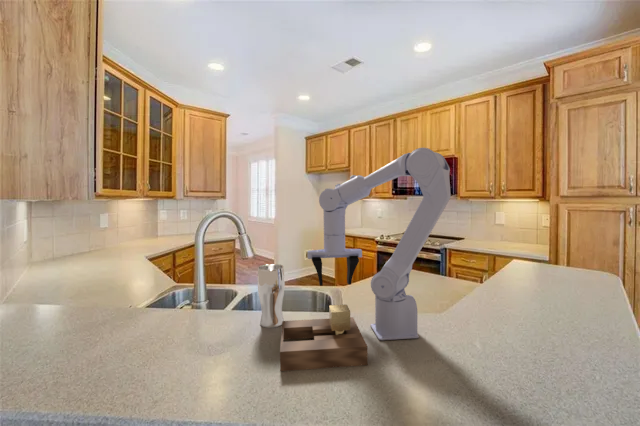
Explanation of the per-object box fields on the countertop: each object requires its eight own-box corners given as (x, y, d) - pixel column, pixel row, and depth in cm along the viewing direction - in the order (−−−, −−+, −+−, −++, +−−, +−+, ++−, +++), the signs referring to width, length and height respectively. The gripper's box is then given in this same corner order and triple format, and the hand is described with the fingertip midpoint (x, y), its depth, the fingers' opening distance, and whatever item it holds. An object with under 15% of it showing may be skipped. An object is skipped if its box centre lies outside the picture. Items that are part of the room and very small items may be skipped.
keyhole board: (353, 332, 72) (352, 317, 72) (367, 365, 58) (367, 346, 58) (282, 336, 71) (282, 321, 71) (280, 371, 57) (279, 351, 57)
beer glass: (253, 326, 77) (251, 268, 76) (268, 315, 83) (267, 262, 82) (275, 331, 74) (274, 271, 73) (290, 320, 80) (289, 265, 79)
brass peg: (347, 342, 68) (346, 304, 67) (350, 351, 64) (350, 311, 63) (329, 343, 67) (329, 305, 67) (332, 352, 63) (331, 312, 63)
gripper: (357, 231, 84) (358, 278, 85) (306, 232, 83) (307, 280, 84) (363, 234, 77) (364, 286, 78) (308, 236, 76) (308, 288, 77)
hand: (335, 284), depth 80 cm, fingers open, 7 cm apart
